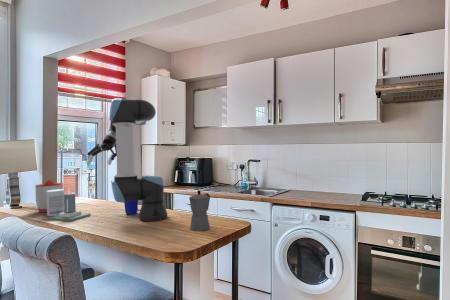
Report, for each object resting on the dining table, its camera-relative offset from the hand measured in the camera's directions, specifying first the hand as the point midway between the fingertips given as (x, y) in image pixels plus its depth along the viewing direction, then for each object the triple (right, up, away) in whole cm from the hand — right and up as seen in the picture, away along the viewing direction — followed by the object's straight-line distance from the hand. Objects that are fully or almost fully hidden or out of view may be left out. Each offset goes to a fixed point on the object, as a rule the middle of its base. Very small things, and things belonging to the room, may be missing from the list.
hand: (98, 163), depth 181 cm
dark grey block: (-12, -29, -10) cm, 33 cm away
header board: (-12, -30, -10) cm, 34 cm away
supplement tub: (-24, -31, -1) cm, 39 cm away
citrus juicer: (-36, -31, +12) cm, 49 cm away
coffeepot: (+65, -29, -39) cm, 81 cm away
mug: (+23, -29, -3) cm, 37 cm away
